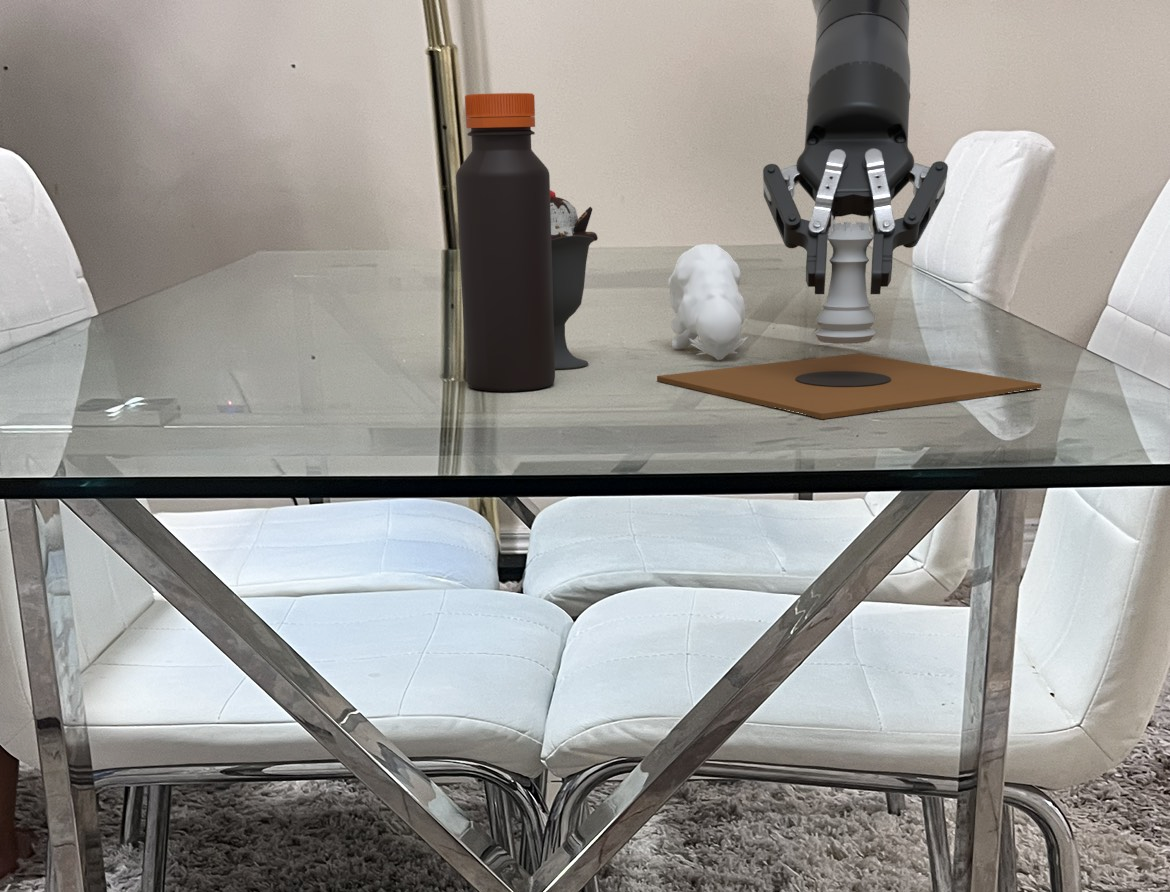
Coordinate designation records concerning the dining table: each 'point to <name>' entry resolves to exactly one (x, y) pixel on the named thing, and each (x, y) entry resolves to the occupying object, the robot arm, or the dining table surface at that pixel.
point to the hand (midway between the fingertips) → (848, 285)
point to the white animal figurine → (707, 301)
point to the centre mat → (845, 384)
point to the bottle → (505, 248)
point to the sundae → (567, 271)
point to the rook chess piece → (847, 288)
